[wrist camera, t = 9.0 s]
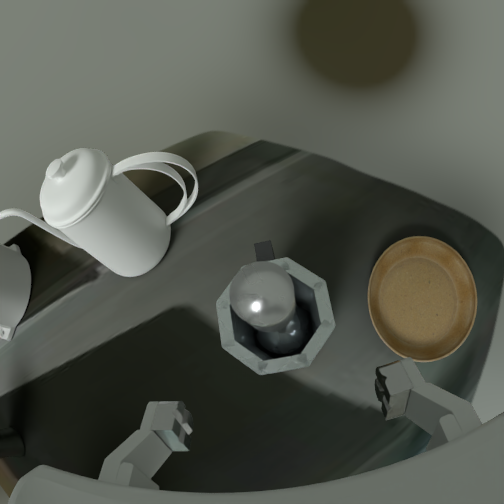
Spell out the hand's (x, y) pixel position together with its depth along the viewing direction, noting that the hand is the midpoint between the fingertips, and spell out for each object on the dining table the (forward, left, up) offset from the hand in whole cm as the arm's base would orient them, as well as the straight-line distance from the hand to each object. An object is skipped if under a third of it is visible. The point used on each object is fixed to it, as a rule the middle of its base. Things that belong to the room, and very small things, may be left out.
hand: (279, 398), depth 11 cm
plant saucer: (+17, +5, -22) cm, 28 cm away
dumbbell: (0, +5, -19) cm, 19 cm away
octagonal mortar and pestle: (0, +5, -21) cm, 22 cm away
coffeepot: (-18, +20, -22) cm, 35 cm away
